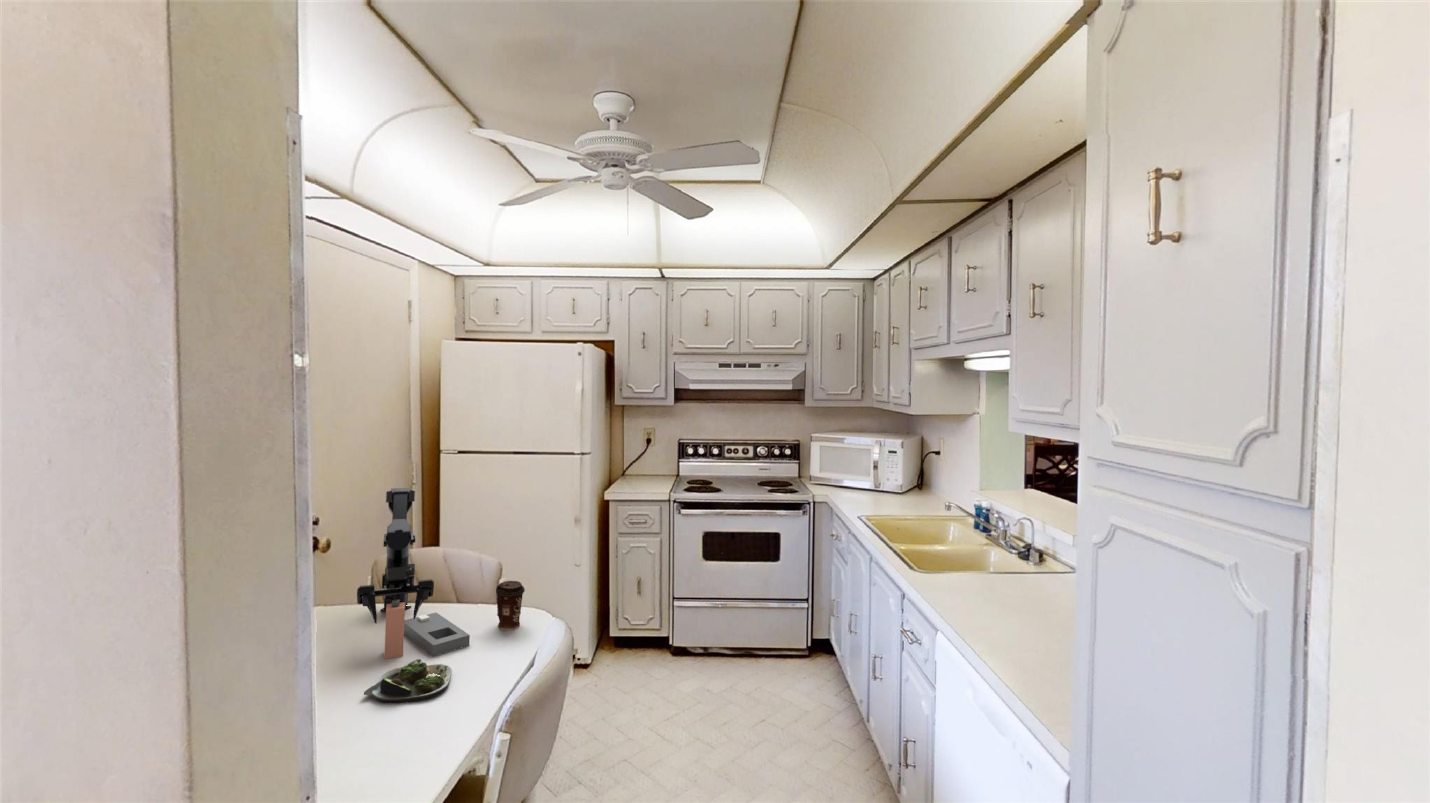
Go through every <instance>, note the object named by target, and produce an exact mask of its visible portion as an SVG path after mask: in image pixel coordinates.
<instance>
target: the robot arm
mask: <svg viewBox="0 0 1430 803" xmlns="http://www.w3.org/2000/svg"><path fill="white" fill-rule="evenodd" d="M415 498H416V490H413V489H412V488H411V487H399V488H395V487H394V488H390V490H388V491H386V495H385V503H388V510H389V512H390V513H391V515H392V518H391V522H390V524H388V526H387V531H386V533H384V534H383V545H382V546H383V547H384V548H385V547H386V565H385V566H386V567H385V568H384V573H382V576H381V578H382V579H381V588H376V589H375V584H368V585H367V584H366V585H359V587H357V590H356V600H357V602H356V604H358V605H362V606H363V607H367V609H368V610H369V612H370V614H371V618H372V619H373V623H374V624H377V623H378V622H377V621H378V619H377V616H378V615H377V604H376V597H384V598H383V599H384V600H383V607H382V608H380V611H381V612H383V613H384V612H385V613H386V606H387V604H392V601H393V600H396V599H399V600H400V603H403V602H405V611H406V610H408V609H410V608H412V605H411V606H406V605H408V603H409V602H408V599H409V598H408V597H409V594H414V593H415V594H416V595H415V596H416V597H415V600H414V601H415V602H414V608H413V609H414V610H413V617H412V618H413V619H415V618H416V617H417V616H418V612H419V610H420V608H421V606H422V604H423V602H424V601H426V600H428V599H429V598H431V597H433V596H434V591H435V589H434V588H435V587H434V586H435V581H434V580H433V579H432V578H428V579H420V580H418V583H417V585H416V584H415V566H416V565H415V563H410V562H409V561H410V547H411V546H413V545H414V543H416V535H415V534H414V531H411V530H412V526H411V524H410V523H409V522H408V518H407V517H408V513H410V511H411V509H412V507H413V502H415Z"/></svg>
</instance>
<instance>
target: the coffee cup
mask: <svg viewBox="0 0 1430 803" xmlns="http://www.w3.org/2000/svg"><path fill="white" fill-rule="evenodd" d="M525 591H526V590H525V587H524V586H523V584H522V582H520V581H517V580H505V581H502V582H500V583H498V585H497V586H496V588H495V592H496V593H495V594H496V608H497V609H496V610H497V611H496V612H497V613H496V614H497V615H496V616H498V620H499V622H498V624H497V628H498V629H500V630H502V631H512V630H516V629H518V628H520V624H521V622H520V616H521V610H522V603H523V601H522V600H523V595H524V593H525Z"/></svg>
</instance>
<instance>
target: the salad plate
mask: <svg viewBox="0 0 1430 803" xmlns="http://www.w3.org/2000/svg"><path fill="white" fill-rule="evenodd" d="M452 671H453V670H452V667H451V666H449V665H446V664H444V663H436V664H435V663H434V664H428V665H427V663H426V662H423V661H422V659H421V658H418V659H415V660H413V661H411V662H410V663H409V662H408V664H406V665H404V666H401V667H395V668H393V669H390V670H388V671H386V672H384V673H382V675H381V676H380V677H379V679H377V680H378V681H376V684H374V685H371V686H370V687H369V688H367V689H366V690H365V691H363V696H369V697H370V698H373V699H374V700H376V701H377V702H379V703H383V704H407V702H408V703H416V702H423V701H427V700H428V701H429V700H430V699H433V698H436V697H437V696H439V695H441V694H442V693H444V692H445V691H446V689H448V687H449V685H450V679H451V677H452ZM433 673H434V674H433ZM429 674H430V675H429ZM436 674H437V675H436ZM438 675H440V676H438Z"/></svg>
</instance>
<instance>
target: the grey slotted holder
mask: <svg viewBox="0 0 1430 803" xmlns="http://www.w3.org/2000/svg"><path fill="white" fill-rule="evenodd" d="M404 635H406V636H407V637H408V638H409V639H410V640H412V641H413V642H414V643H416V644H417V645H418V646H419V647H421V648H422V649H423V650H424V651H426V652H427V653H428V654H429V655H431V656H432V657H435V656H439V655H442V654H445V652H446V653H448V652H452V651H455V650H454V649H456V650H459V649H462V648H461V647H463V648H466V647H468V646H470V638H471V634H469V633H468V632H466V631H465V630H463V629H461V628H460V627H459V626H457V625H456V624H454V623H453V622H452V621H449V620H448V619H447V618H446V617H444V616H442V615H441V614H439V613H438V612H433V613H427V614H421V615H416V618H415V619H413V617H410V618H407V619H404Z"/></svg>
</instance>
